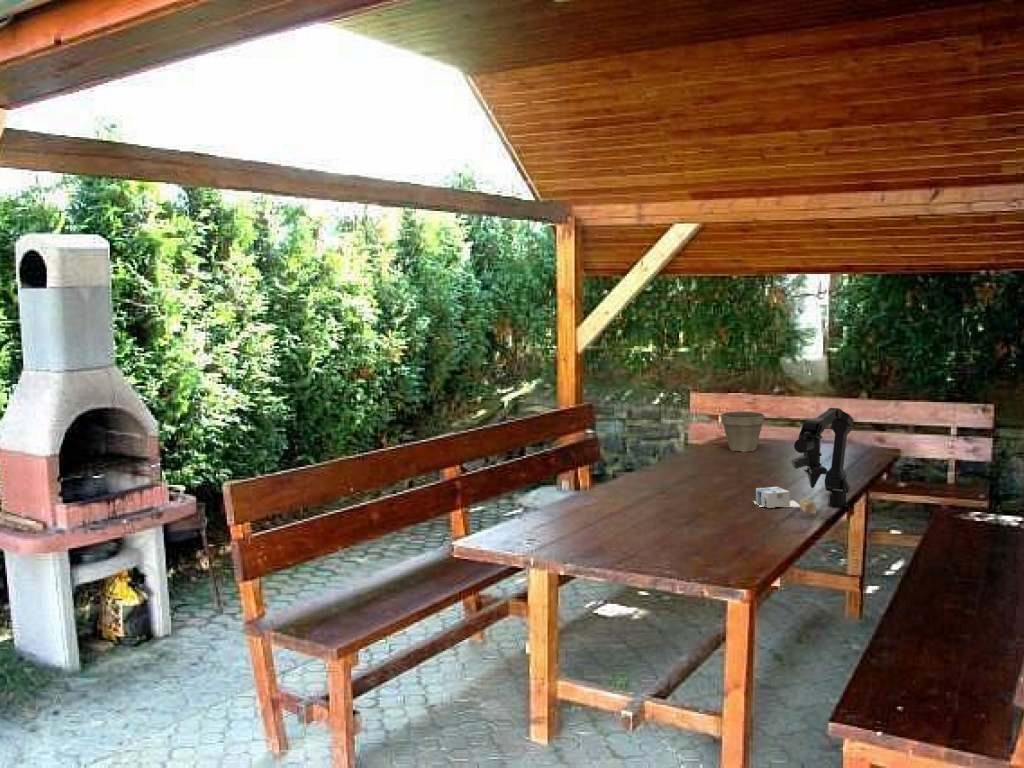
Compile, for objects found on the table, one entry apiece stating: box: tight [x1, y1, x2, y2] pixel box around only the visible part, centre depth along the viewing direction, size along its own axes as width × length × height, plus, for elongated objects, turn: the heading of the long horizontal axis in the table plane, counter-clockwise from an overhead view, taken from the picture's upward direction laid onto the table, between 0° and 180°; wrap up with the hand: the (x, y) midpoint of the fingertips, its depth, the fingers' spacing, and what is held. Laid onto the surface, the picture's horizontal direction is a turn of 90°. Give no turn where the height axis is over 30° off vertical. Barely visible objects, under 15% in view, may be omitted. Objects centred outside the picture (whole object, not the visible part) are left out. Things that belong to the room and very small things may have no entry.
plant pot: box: [720, 411, 765, 453], centre depth 534 cm, size 25×25×22 cm
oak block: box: [799, 499, 817, 514], centre depth 382 cm, size 4×4×9 cm
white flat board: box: [752, 500, 800, 508], centre depth 394 cm, size 18×12×1 cm, turn 89°
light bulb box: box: [755, 486, 791, 509], centre depth 392 cm, size 11×7×11 cm
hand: (812, 487), depth 374 cm, fingers closed
